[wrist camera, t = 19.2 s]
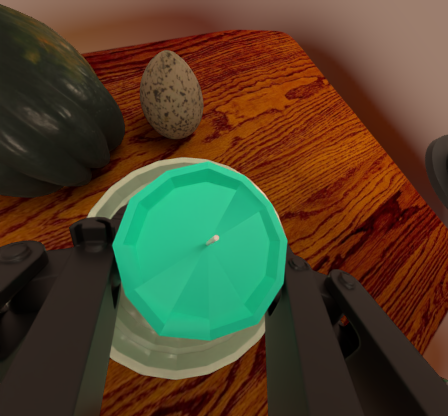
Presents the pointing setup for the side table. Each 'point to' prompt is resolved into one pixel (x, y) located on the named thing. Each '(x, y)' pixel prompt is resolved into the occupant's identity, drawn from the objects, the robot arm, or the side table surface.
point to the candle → (200, 252)
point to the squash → (50, 111)
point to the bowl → (141, 330)
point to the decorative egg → (171, 96)
